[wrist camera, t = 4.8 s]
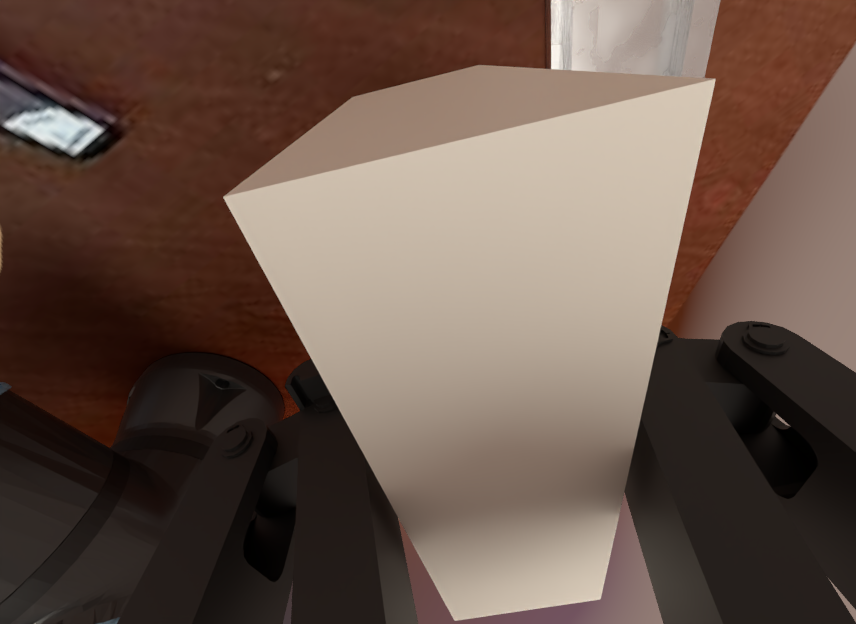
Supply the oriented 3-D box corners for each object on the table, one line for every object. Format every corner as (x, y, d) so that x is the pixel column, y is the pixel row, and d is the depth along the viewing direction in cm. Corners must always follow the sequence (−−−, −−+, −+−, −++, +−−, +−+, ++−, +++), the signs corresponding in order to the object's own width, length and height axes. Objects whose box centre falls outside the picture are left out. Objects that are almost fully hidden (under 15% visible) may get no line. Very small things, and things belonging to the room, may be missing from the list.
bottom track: (548, 253, 32) (591, 310, 25) (544, -52, 21) (622, -112, 13) (661, 229, 32) (739, 281, 24) (723, -100, 20) (908, -192, 13)
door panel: (429, 367, 18) (454, 620, 10) (352, 96, 11) (222, 197, 3) (514, 350, 18) (611, 597, 10) (488, 62, 11) (757, 70, 3)
